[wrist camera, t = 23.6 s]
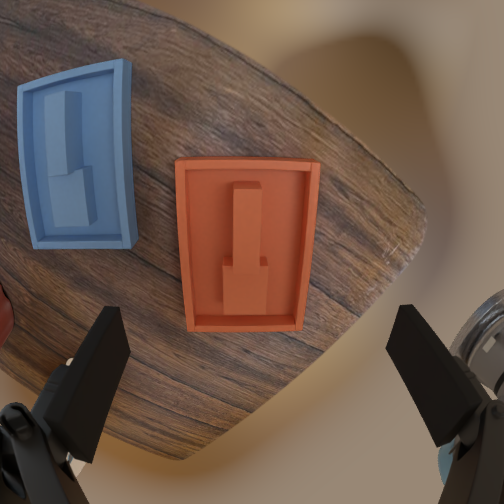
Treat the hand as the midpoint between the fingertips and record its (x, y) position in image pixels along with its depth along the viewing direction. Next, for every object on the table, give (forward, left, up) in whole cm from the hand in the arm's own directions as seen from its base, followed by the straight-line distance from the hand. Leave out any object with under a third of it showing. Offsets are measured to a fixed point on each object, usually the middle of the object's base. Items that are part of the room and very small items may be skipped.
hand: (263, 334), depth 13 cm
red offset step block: (0, +2, -15) cm, 15 cm away
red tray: (0, +2, -16) cm, 16 cm away
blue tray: (+16, -7, -16) cm, 24 cm away
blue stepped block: (+16, -7, -15) cm, 23 cm away
